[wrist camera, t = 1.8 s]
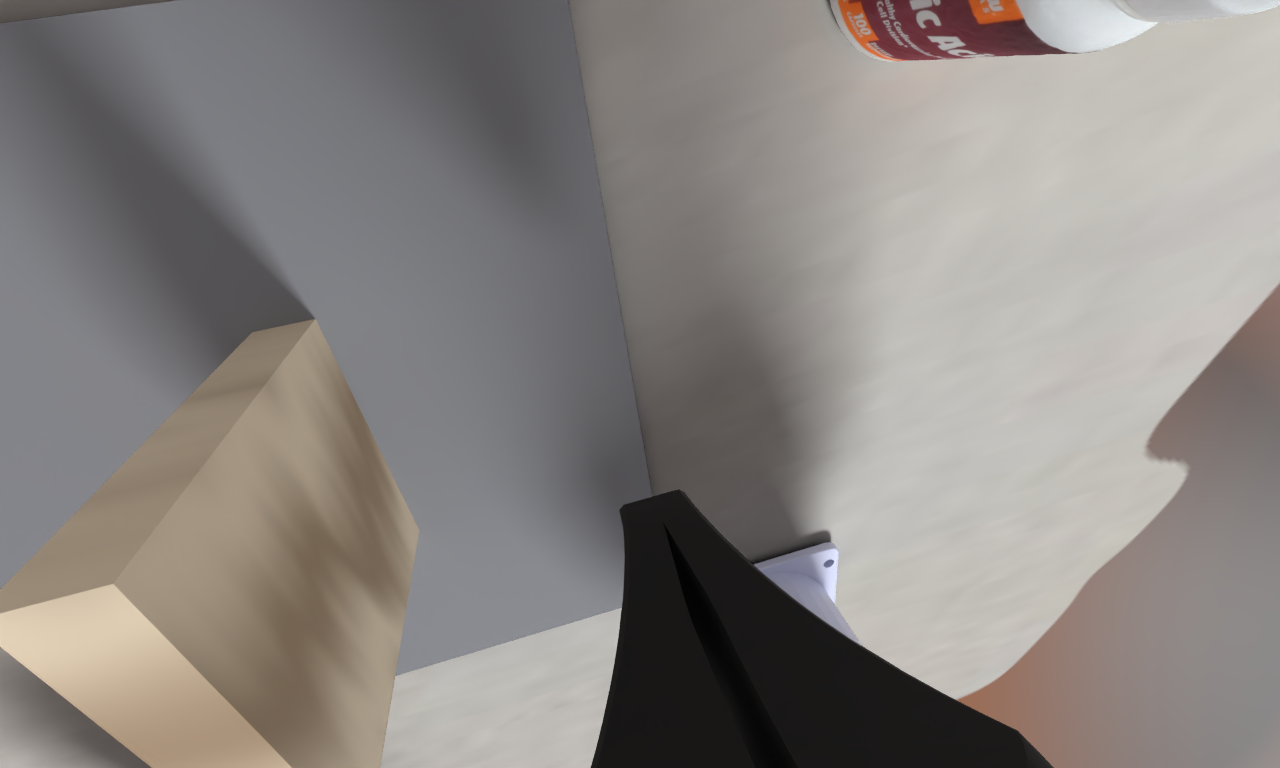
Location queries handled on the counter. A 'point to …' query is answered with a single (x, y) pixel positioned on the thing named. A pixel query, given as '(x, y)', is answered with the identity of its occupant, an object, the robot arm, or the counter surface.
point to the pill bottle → (1013, 24)
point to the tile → (232, 576)
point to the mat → (328, 273)
